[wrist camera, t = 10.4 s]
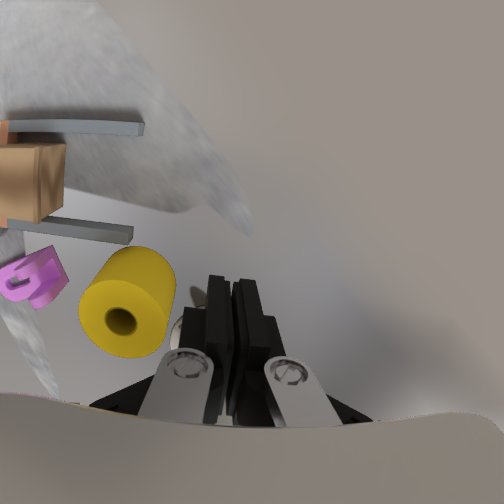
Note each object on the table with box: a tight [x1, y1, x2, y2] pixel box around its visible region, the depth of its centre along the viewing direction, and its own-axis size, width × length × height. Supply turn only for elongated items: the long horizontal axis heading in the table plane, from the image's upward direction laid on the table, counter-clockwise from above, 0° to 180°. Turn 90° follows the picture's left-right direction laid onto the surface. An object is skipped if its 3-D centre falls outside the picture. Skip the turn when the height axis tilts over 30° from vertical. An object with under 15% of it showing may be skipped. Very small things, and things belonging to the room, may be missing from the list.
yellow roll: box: [78, 246, 176, 358], centre depth 36 cm, size 10×10×9 cm
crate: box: [0, 143, 66, 225], centre depth 30 cm, size 8×8×7 cm
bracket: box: [0, 245, 69, 310], centre depth 35 cm, size 13×6×7 cm, turn 105°
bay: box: [0, 119, 145, 245], centre depth 33 cm, size 14×20×2 cm
